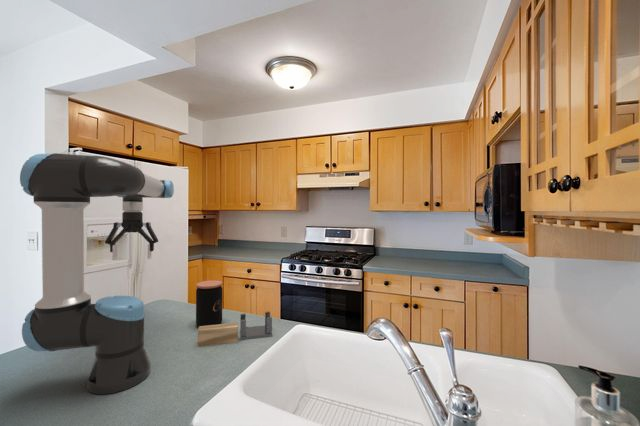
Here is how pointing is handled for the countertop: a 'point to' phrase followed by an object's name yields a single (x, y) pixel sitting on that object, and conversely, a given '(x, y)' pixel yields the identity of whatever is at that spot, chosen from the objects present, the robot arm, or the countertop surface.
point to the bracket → (255, 328)
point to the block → (217, 334)
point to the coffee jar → (208, 303)
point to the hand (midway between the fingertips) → (132, 259)
